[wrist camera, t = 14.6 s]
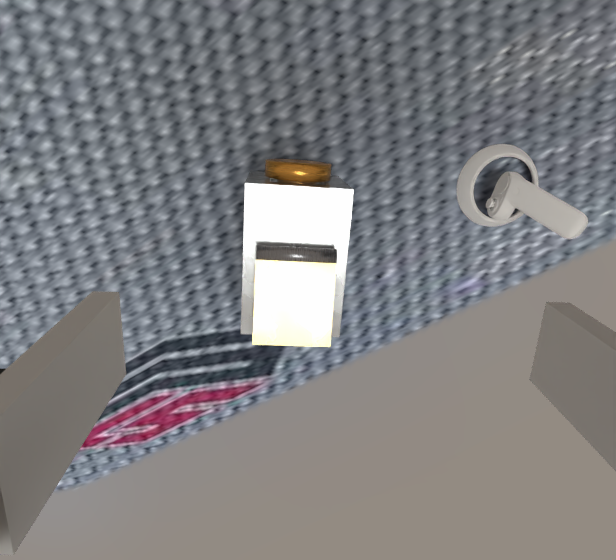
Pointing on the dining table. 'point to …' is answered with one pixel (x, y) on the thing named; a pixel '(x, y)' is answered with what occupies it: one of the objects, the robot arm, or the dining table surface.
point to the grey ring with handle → (516, 196)
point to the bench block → (295, 229)
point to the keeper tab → (294, 295)
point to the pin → (297, 171)
